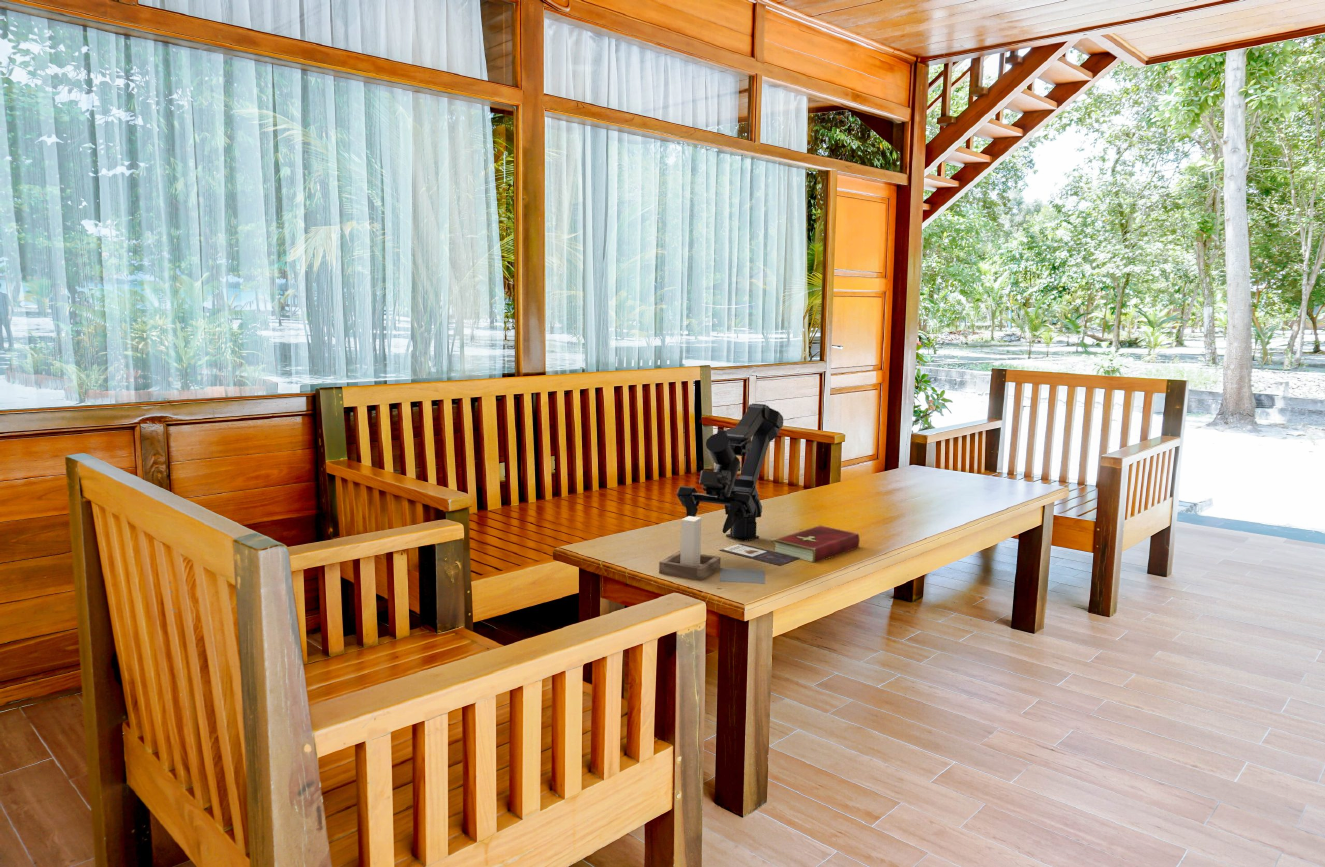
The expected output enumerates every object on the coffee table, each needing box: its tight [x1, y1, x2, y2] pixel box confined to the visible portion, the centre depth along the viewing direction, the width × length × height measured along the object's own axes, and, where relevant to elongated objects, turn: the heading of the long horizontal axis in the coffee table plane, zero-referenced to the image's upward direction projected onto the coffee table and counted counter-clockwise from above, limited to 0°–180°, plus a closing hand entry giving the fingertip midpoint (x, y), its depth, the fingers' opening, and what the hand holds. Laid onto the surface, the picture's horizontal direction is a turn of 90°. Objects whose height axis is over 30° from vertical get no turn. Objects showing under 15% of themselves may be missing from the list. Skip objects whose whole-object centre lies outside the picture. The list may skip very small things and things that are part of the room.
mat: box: [719, 567, 766, 585], centre depth 200 cm, size 10×10×1 cm
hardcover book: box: [773, 525, 861, 563], centre depth 223 cm, size 12×21×4 cm, turn 137°
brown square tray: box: [658, 550, 721, 581], centre depth 203 cm, size 11×11×3 cm
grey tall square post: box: [680, 516, 703, 567], centre depth 202 cm, size 6×6×12 cm
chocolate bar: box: [719, 543, 801, 567], centre depth 217 cm, size 9×1×18 cm
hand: (705, 530), depth 209 cm, fingers open, 9 cm apart
